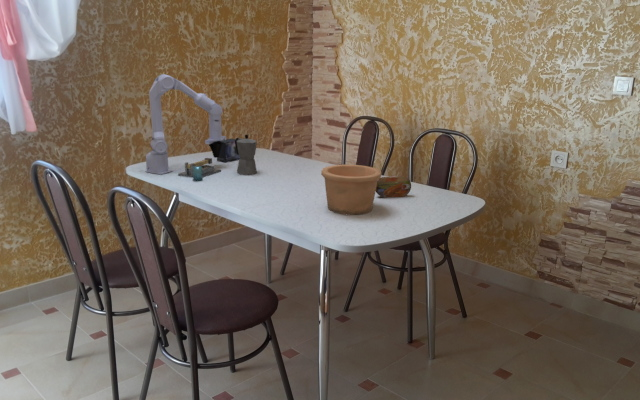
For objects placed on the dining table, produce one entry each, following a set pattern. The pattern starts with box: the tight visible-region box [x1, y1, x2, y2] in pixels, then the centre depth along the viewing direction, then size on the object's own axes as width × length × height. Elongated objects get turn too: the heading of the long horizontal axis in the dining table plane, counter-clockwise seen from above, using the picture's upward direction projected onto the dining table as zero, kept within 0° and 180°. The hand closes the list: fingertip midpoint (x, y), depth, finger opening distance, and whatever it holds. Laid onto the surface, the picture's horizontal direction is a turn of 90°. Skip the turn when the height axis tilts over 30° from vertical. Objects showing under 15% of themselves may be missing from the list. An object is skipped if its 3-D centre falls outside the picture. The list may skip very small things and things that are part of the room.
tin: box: [375, 175, 412, 199], centre depth 219 cm, size 15×3×8 cm, turn 105°
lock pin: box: [187, 157, 213, 169], centre depth 249 cm, size 3×16×2 cm, turn 156°
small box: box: [216, 138, 240, 163], centre depth 278 cm, size 11×6×10 cm, turn 143°
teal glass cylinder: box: [192, 166, 204, 182], centre depth 237 cm, size 4×4×6 cm
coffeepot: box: [235, 134, 258, 176], centre depth 252 cm, size 15×9×18 cm, turn 44°
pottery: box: [320, 164, 382, 216], centre depth 201 cm, size 22×22×14 cm
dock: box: [178, 161, 222, 178], centre depth 250 cm, size 12×16×6 cm
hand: (216, 157), depth 260 cm, fingers closed
